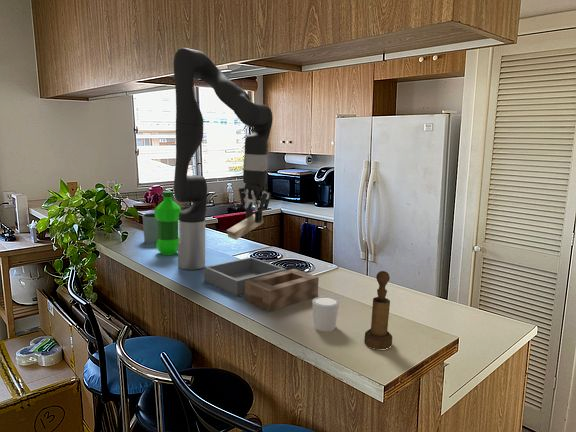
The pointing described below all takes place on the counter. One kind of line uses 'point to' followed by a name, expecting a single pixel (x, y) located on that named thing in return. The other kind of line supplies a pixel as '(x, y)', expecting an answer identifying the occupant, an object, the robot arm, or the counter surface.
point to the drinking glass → (150, 228)
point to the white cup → (325, 313)
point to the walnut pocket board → (281, 289)
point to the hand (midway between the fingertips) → (253, 220)
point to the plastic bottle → (167, 224)
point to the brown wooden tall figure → (380, 317)
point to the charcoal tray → (238, 274)
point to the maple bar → (243, 227)
